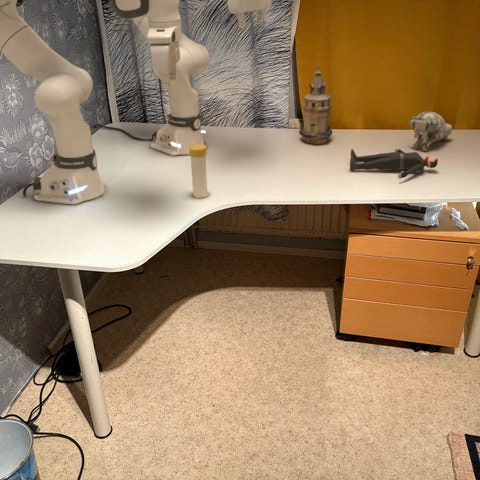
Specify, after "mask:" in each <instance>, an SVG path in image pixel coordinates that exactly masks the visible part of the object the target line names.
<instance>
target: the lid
mask: <svg viewBox="0 0 480 480" xmlns="http://www.w3.org/2000/svg"><path fill="white" fill-rule="evenodd" d="M188 155H189V156H190V157H191V156H192V157H202V156H205V155H206V156H207V155H208V151H207V145H205V144H204V145H202V144H195V145H191V146H190V147H189V154H188Z"/></svg>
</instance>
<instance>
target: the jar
mask: <svg viewBox="0 0 480 480" xmlns="http://www.w3.org/2000/svg"><path fill="white" fill-rule="evenodd" d="M190 164H191V165H190V167H191V181H192V195H193V197H194V198H196V199H197V198H198V199H201V198H206V197H207V196H208V175H207V154H206V155H205V156H202V157H192V156H190Z"/></svg>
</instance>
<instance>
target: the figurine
mask: <svg viewBox="0 0 480 480" xmlns="http://www.w3.org/2000/svg"><path fill="white" fill-rule="evenodd" d="M408 124H409V126H410V127H411V129H412V130H413V133H414V134H413V138H414V139H417V140H416V141H415V142H414V143H413V149H415V150H418V149H420V145H421V144H422V142H424V141H425V142H424V144H423V145H422V146H421V149H422V150H423V151H424V152H427V151H428V150H429V146H430V145H431V144H433V142H440V141H441V140H445V141H448V136H450V135H451V134H452V131H453V125H452V124H451V123H450V124H449V123H447V122H446V121H445V120H444V118H443V117H442V116H441V115H440V114H438V113H437V112H434V111H422V112H421V113H419V114H417V116H411V118H410V120H409V121H408Z"/></svg>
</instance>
